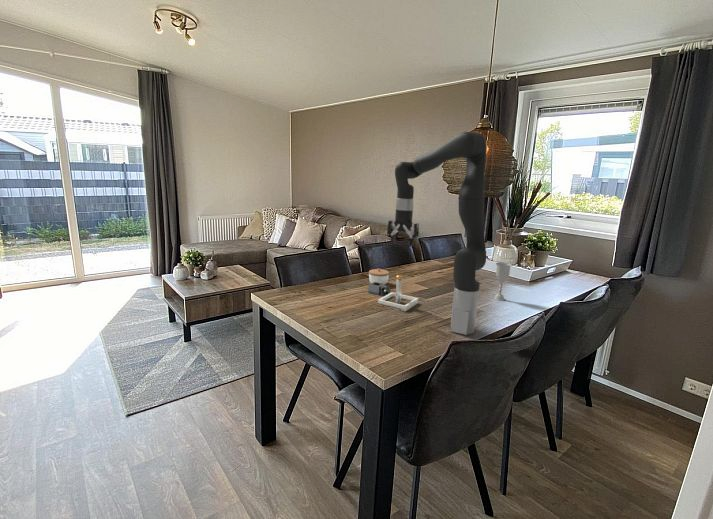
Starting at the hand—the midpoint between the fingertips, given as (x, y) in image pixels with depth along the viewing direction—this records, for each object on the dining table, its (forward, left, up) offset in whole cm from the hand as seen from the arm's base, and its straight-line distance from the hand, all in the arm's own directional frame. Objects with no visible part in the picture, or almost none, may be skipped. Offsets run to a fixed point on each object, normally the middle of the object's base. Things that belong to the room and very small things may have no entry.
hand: (401, 245), depth 170 cm
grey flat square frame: (0, 0, -28) cm, 28 cm away
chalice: (+38, -37, -28) cm, 60 cm away
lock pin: (0, 0, -28) cm, 28 cm away
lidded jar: (+20, +22, -28) cm, 41 cm away
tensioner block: (+7, +14, -28) cm, 32 cm away
